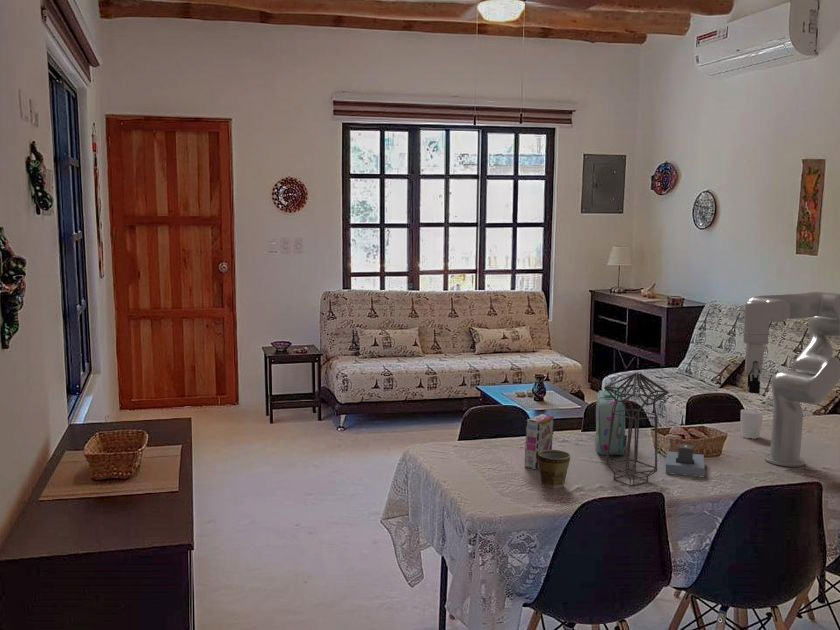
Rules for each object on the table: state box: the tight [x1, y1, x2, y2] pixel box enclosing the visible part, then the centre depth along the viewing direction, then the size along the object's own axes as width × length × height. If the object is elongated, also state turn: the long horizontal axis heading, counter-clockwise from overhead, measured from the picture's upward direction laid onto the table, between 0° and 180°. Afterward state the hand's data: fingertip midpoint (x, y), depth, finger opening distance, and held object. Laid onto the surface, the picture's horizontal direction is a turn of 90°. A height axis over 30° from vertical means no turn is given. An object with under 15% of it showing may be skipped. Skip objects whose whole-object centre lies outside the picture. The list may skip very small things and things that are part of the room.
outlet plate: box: [664, 451, 705, 477], centre depth 274 cm, size 16×12×3 cm
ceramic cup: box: [538, 449, 571, 489], centre depth 255 cm, size 13×10×10 cm
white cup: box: [740, 408, 764, 440], centre depth 314 cm, size 8×8×10 cm
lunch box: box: [594, 389, 628, 456], centre depth 294 cm, size 27×10×21 cm, turn 170°
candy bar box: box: [524, 413, 555, 470], centre depth 274 cm, size 11×5×16 cm, turn 145°
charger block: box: [678, 443, 694, 464], centre depth 272 cm, size 4×4×8 cm
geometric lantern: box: [603, 372, 670, 487], centre depth 259 cm, size 16×16×35 cm
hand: (753, 389), depth 268 cm, fingers open, 9 cm apart
